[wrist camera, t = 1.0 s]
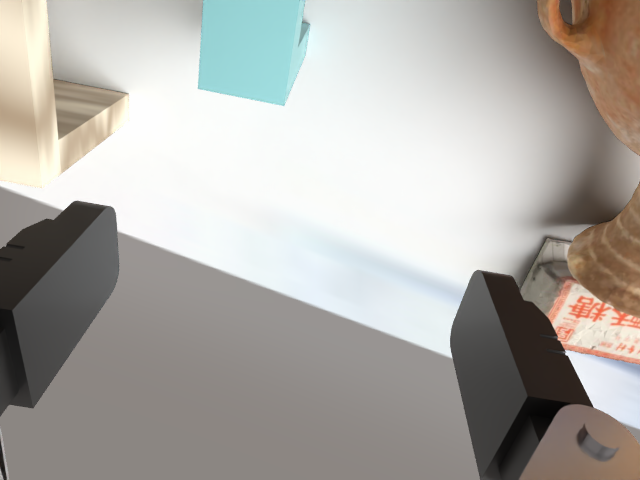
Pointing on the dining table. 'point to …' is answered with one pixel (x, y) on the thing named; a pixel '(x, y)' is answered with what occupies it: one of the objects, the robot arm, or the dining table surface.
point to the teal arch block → (252, 48)
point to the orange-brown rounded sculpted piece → (626, 124)
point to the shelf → (45, 103)
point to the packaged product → (579, 309)
